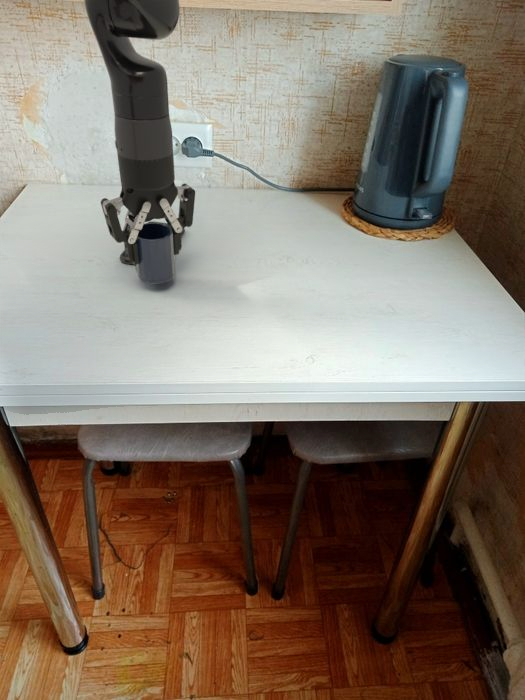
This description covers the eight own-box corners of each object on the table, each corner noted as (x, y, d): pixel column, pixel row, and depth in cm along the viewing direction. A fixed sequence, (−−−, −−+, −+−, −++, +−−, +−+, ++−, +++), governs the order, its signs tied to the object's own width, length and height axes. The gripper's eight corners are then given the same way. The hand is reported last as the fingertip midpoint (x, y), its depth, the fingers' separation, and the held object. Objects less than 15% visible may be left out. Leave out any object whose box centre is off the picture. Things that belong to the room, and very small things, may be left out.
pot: (146, 287, 78) (141, 244, 74) (131, 270, 82) (125, 227, 77) (181, 278, 81) (179, 235, 76) (165, 261, 85) (162, 219, 80)
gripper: (103, 165, 63) (120, 280, 74) (205, 149, 70) (206, 257, 81) (83, 146, 68) (101, 257, 79) (180, 133, 75) (185, 237, 85)
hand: (154, 256), depth 80 cm, fingers closed on pot, 6 cm apart
